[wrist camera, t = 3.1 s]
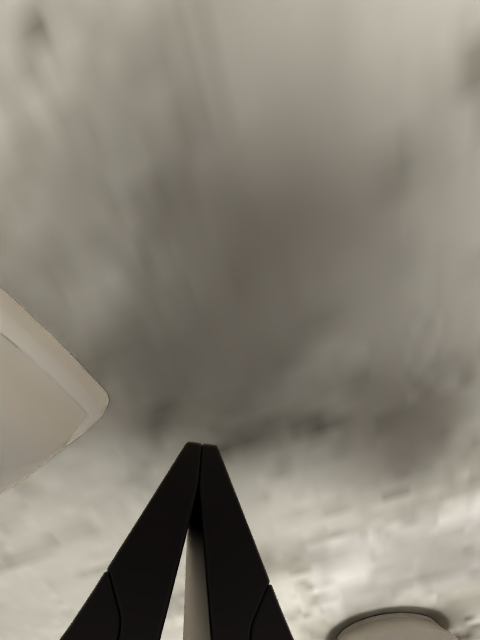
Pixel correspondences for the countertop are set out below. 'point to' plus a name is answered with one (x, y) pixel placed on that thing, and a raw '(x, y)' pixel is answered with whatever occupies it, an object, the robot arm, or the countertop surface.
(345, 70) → the countertop surface
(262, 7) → the countertop surface
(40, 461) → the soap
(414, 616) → the can
